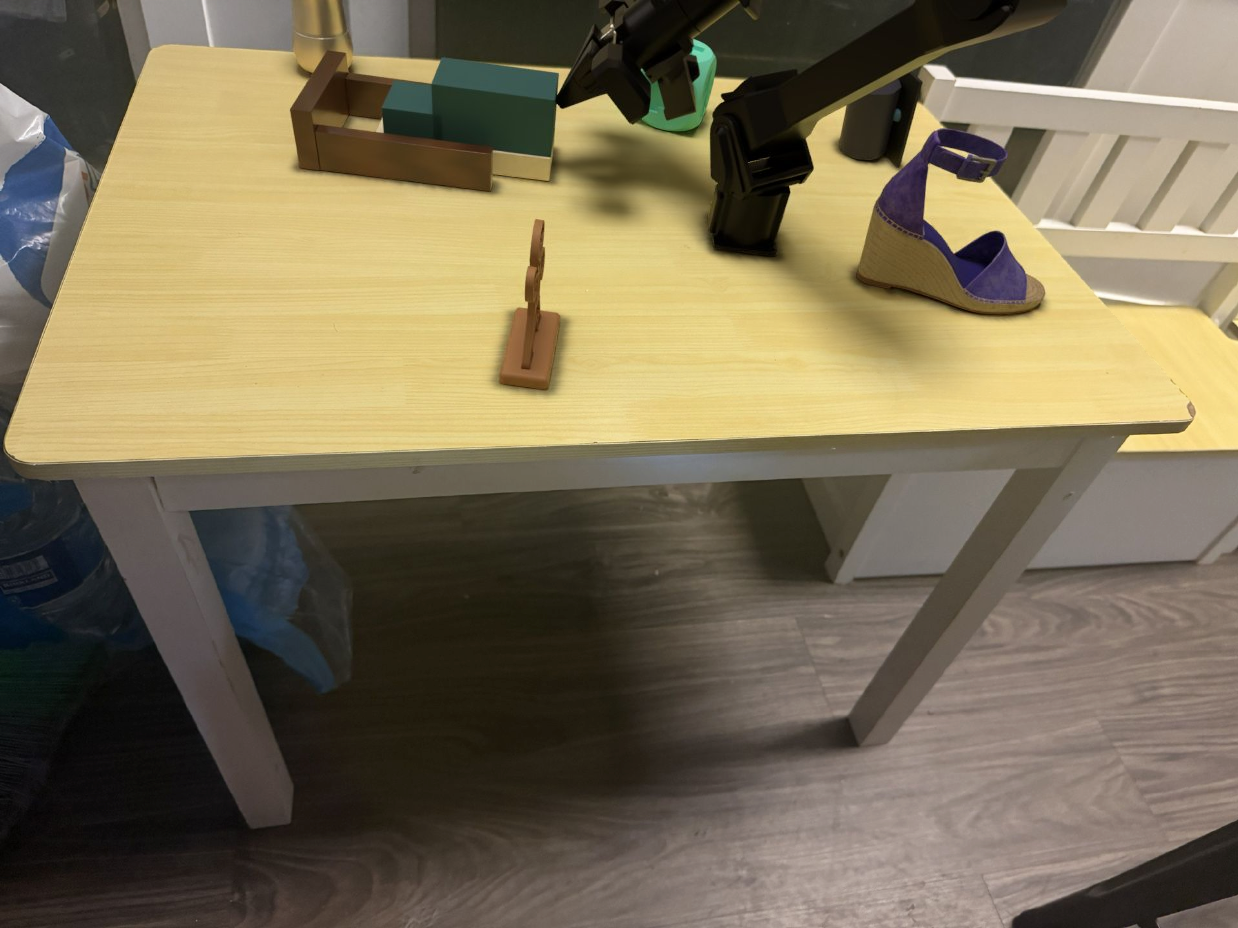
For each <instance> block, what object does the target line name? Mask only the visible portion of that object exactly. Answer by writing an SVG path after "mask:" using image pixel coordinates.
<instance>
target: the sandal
mask: <svg viewBox="0 0 1238 928" xmlns="http://www.w3.org/2000/svg"><path fill="white" fill-rule="evenodd" d="M947 148H948V149H947ZM949 149H952V150H949ZM953 150H956V151H961V152H965V153H968V154H967V156H964V155H961V154H960V153H959V154H958V153H956V152H954V151H953ZM1007 158H1008V151H1007V150H1006V149H1005V148H1004V147H1003V146H1002V145H1000V144H998V143H997V142H995V141H994V140H991V139H989V138H986V137H983V136H980V135H978V134H974V133H972V132H967V131H964V130H958V129H952V128H945V127H942V128H938V129H937V130H933V131H932V132H931V134H929V136H928V137H927V138H926V141H925V142H924V143H923V146H922V148H921V149H920V151H918V152H917V153H916V154H915V155H914V156H913V158H911V159H910V160H909V161H908V162H907V163H906V164H905V165H904V166H903V167H902V168H901V169H900V170H898V171H897V172H896V173H895V174H894V175H893V176H892V177H891V178H890V179H889V181H888V182H887V183H886V184H884V187H883V188H882V190H881V192H880V195H879V196H878V198H877V199H876V200H875V203H874V205H873V208H872V211H871V216H870V220H869V224H868V227H867V232H866V235H865V236H866V237H865V240H864V244H863V247H862V251H861V252H862V253H861V256H860V260H859V264H858V268H857V271H856V278H857V279H858V281H860V282H863V283H864V284H866V285H870V286H875V287H880V288H883V289H887V290H890V289H891V287H892V288H893V287H894V288H898V289H903V290H906V291H910V292H913V293H917V294H919V295H922V296H926V297H929V298H932V299H935V300H938V301H941V302H943V303H946V304H948V305H951V306H953V307H956V308H960V309H963V310H966V311H969V312H973V313H976V314H982V315H983V314H985V315H1013V314H1020V313H1027V312H1030V311H1031V310H1033V309H1035V308H1037V307H1038V306H1039V305H1040V303H1041V302H1042V301H1044V298H1045V296H1046V289H1045V286H1044V284H1043V283H1042V282H1041V281H1040V280H1039V279H1037V278H1036V277H1034V276H1032V275H1031V274H1029V273H1026V270H1025V269H1024V267H1023V266H1022V264H1020V262H1019V261H1018V260H1017V259H1016V257H1015V256H1014V254H1013V253H1012V251H1011V249H1010V248H1009V244H1008V240H1007V237H1006V235H1005V233H1003V232H1002V231H1001V230H998V229H997V230H990V231H988V232H985V233H983V234H982V235H980V236H978V237H977V238H975V239H973V240H972V241H970V242H969V243H967V244H966V245H965V246H962V248H960V249H959V250H957V251H955V252H953V250H952V249H951V248H950V246H949V244H948V243H947V241H946V240H945V238H944V237H943V236H942V235H941V234H940V233H939V232H938V230H937V229H936V228H935V227H934V226H933V225H931V224H930V223H929V222H928V221H927V220H925V218H924V216H925V203H926V192H927V181H928V174H929V165H931V166H934V167H937V168H939V169H941V170H943V171H946V172H948V173H950V174H952V175H955V178H956V179H957V180H960V181H965V182H970V183H976V184H981V183H984V182H985V180H986V178H991V177H995V176H996V175H997V174H998V173H999V172H1000V170H1001V168H1002V167H1003V165H1004V163H1005V162H1006V160H1007Z"/></svg>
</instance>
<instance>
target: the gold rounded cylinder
mask: <svg viewBox="0 0 1238 928" xmlns="http://www.w3.org/2000/svg"><path fill="white" fill-rule="evenodd" d="M290 1H291V17H292V27H291V48H292V51H293V54H294V56H295V61H296V62H297V63H298V64H299V66H300V67H301V68H302V69H303V70H305V71H306V72H308V73H311V74H313V72H314V70H315V69H316V67H317V66H318V64H319V62H320V61H321V59H322V58H323V56H324V55H325V53H326V51H327V50H330V51H337V52H344V53H346V55H347V64H348V69H349V68H350V67H351V65H352V63H353V58H354V44H353V40H352V35H351V32H350V28H349V26H348V22H347V16H346V10H345V5H344V0H290Z"/></svg>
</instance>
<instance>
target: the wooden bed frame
mask: <svg viewBox="0 0 1238 928" xmlns="http://www.w3.org/2000/svg"><path fill="white" fill-rule="evenodd" d="M394 80H396V81H404V82H411V83H419V84H426V85H431V84H432V83H429V82H422V81H414V80H409V79H408V80H407V79H399V78H394V77H393V78H392V77H386V76H385V77H384V76H378V75H371V74H365V73H355V72H349V68H348V64H347V55H346V53H344V52H337V51H330V50H327V51H326V53H325V55H324V56H323V58H322V59H321V61H320V62H319V64H318V66H317V67H316V69H315V70H314V72H313V73H311V74H310V76H309V79H308V80H307V81H306V83H305V85H304V86H303V88H302V89H301V91H299V94H298V96H297V97H296V98H295V100H294V102H293V103H292V105H291V106H290V108H289V112H290V113H289V114H290V120H291V125H292V131H293V136H294V142H295V148H296V154H297V160H298V165H299V169H306V170H313V171H326V172H333V173H342V174H350V175H358V176H366V177H372V178H373V177H374V178H381V179H382V178H383V179H389V180H398V181H406V182H414V183H421V184H430V185H437V186H445V187H453V188H460V189H469V190H476V191H477V190H478V191H486V192H491V191H492V186H493V175H494V174H493V147H488V146H480V145H472V144H465V143H457V142H449V141H441V140H434V139H426V138H418V137H411V136H403V135H395V134H388V133H380V132H376V131H371V130H363V129H356V128H348V127H344V125H345V124H346V121H347V120H348V117H349V116H356V117H362V118H363V117H364V118H370V119H371V118H372V119H378V120H381V119H382V106H383V104H384V101H385V99H386V97H387V95H388V93H389V91H390V89H391V86H392V84H393V82H394Z"/></svg>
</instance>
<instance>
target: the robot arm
mask: <svg viewBox="0 0 1238 928" xmlns="http://www.w3.org/2000/svg"><path fill="white" fill-rule="evenodd" d="M739 4H740V6H741V7H742V9H743V10H744V11H745V12H746V13H747V14H748V15H749V16H750V18H751V19H753V20H755V21H756V20H758V19H760V16H761V12H762V6H763V0H636V1H635V2H634V0H598V7H597V8H598V11H599V12H600V13H601V14H602V15H603V14H605V13H608V14H609V16H610V18H609V23H608V24H606V25H605V26H604V27H603V28H602V29H600V27H599V26H598V25H597V24H596V23H594V24H593V25H592V26H591V29H590V31H589V33H588V35H587V36H586V39H585V40H584V43H583V45H582V46H581V49H580V51H579V53H578V55H577V56H576V58H575V61H574V62H573V65H572V66H571V69H570V70H569V72H568V74H567V76H566V78H565V80H564V82H563V84H562V86H561V87H560V89H559V91H558V93H557V97H556V103H557V106H558V107H559V108H560V109H561V110H564V109H568V108H570V107H573V106H576V105H578V104H580V103H583V102H586V101H589V100H592V99H594V98H597V97H598V98H599V97H601V96H604V95H606V96H608V97H609V99H610V100H611V101H612V103H613V104H614V105H615V106H616V108H617V110H619V112H620V113H621V115H622V116H623V117H624V119H626V121H627V122H628V124H630V125H632V126H633V125H635V124H636V123H637V122H639V121H641V120H642V118H643V117H644V116H646V115H647V114H648V113H649V108H650V102H651V84H653V83H654V82H656V81H657V82H658V86H659V90H660V93H661V97H662V100H663V104H664V115H665V118H666V120H667V121H668V120H672V119H675V118H679V117H682V116H685V115H689V114H692V113H695V112H696V100H695V93H694V86H693V84H692V83H693V82H694V81H695V80H696V79H697V78H698V77H699V76H700V70H699V65H698V61H697V57H696V55H690V53H691V52H692V50H693V47H694V43H693V39H695V38H696V37H698V36H699V35H700V34H702V32H704V31H705V30H707V29H708V28H709V27H710V26H711V25H713V24H714V23H716V22H717V21H718V20H719V19H721V18H722V17H724V16H725V15H726V14H727V13H729V12H730V11H731V10H733V9H734V8H736V6H738V5H739ZM1067 5H1068V0H913V1H912V2H911V3H910V4H909V5H908V6H907V7H905V8H903V9H902V10H900V11H899V12H897V13H895V14H893V15H892V16H891V17H889V18H887V19H886V20H884V21H882V22H881V23H879V24H878V25H876V26H874V27H873V28H871V29H870V30H868V31H866V32H865V33H862V34H861V35H860V36H858V37H857V38H855V39H853V40H852V41H850V42H848V43H847V44H845V45H844V46H842V47H840V48H838V49H837V50H836V51H835V50H834V52H832V53H830V54H829V55H828V56H826V57H823V58H822V59H821V60H819V61H818V62H816V63H814V64H812V65H811V66H809V67H808V68H806V69H805V70H803V71H802V72H800V73H799V71H798V68H797V67H794V68H789V69H784V70H778V71H773V72H772V71H771V72H766V73H762V74H757V75H751V76H748V77H747V78H745V80H743V81H742V82H741V83H740V84H739V85H738V86H737V87H736V88H735V89H733V91H728V92H722V93H721V94H720V98H721V99H722V100H723V101H722V102H720V103H719V104H718V105H717V106H716V107H715V108H714V109H713V111H712V114H711V117H712V122H711V124H710V128H709V165H710V166H709V167H710V169H709V170H710V171H709V172H710V173H709V174H710V178H711V180H713V181H714V182H715V183H716V184H715V186H714V189H713V193H712V196H711V197H712V198H711V202H710V207H709V211H708V215H707V228H708V232H709V234H710V235H711V240H712V247H713V248H714V249H715V250H719V251H726V252H727V251H728V252H735V253H743V254H751V255H752V254H753V255H759V256H760V255H761V256H768V257H776V256H777V254H778V251H779V250H778V245H777V237H778V235H779V231H780V228H781V225H782V222H783V218H784V216H785V212H786V209H787V206H788V203H789V199H790V196H791V188H790V187H791V186H795V185H802V184H804V183H806V181H807V180H808V178H809V177H810V176H811V174H812V173H813V172H814V169H815V166H814V163H813V159H812V155H811V151H810V148H809V145H808V141H807V138H808V137H810V136H811V134H812V133H813V131H814V129H815V128H816V126H817V124H818V122H819V121H820V120H822V119H823V118H825V117H828V116H830V115H831V114H833V113H835V112H836V111H838V110H841V109H842V108H844V107H846V105H848V104H850V103H852V102H854V101H856V100H858V99H859V98H861V97H863V96H865V95H867V94H869V93H871V92H873V91H875V90H876V89H878V88H880V87H882V86H884V85H886V84H888V83H890V82H892V81H894V80H895V79H897V78H899V77H901V76H903V75H905V74H907V73H909V72H911V71H912V72H913V71H914V70H917V69H918V68H919V67H922V66H924V65H926V64H927V63H930V62H932V61H934V60H935V59H937V58H939V57H941V56H943V55H945V54H947V53H948V52H951V51H955V50H957V49H963V48H965V47H968V46H973V45H976V44H979V43H984V42H988V41H991V40H995V39H997V38H1002V37H1005V36H1009V35H1012V34H1015V33H1019V32H1023V31H1026V30H1028V29H1032V28H1036V27H1038V26H1041V25H1045V24H1046V23H1047V24H1048V23H1049V22H1051V21H1052V20H1053V19H1054V18H1056V17H1057V16H1059V15H1060V13H1062V11H1063V10H1064V9H1065V8H1066V7H1067ZM641 69H643V71H644V72H645V75H646V77H647V78H648V79H647V78H646V77H645V75H644V74H643V72H642V71H641ZM648 80H649V81H650V82H651V83H650V82H649V81H648Z"/></svg>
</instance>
